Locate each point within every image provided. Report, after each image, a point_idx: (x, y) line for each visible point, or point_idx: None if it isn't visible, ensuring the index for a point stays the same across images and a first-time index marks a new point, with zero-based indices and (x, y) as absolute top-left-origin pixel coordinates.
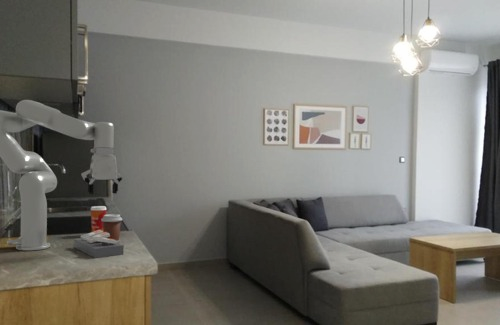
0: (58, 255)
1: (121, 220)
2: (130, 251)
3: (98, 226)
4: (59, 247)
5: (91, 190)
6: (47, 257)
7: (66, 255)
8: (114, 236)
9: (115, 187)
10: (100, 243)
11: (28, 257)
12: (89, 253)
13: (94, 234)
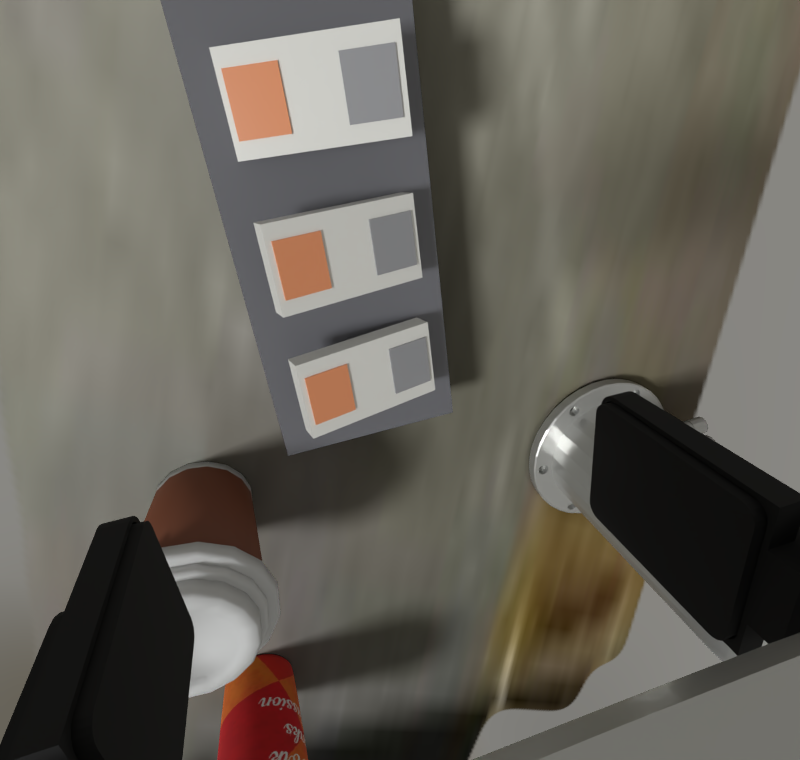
0: (551, 205)
1: None
2: (94, 94)
3: (265, 706)
4: (497, 419)
5: (678, 429)
6: (607, 178)
7: (517, 183)
8: (185, 485)
9: (101, 636)
10: (332, 181)
11: (670, 225)
12: None
13: (358, 344)
